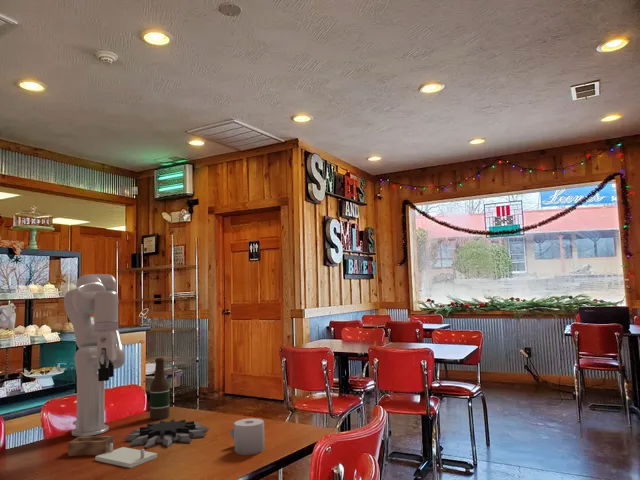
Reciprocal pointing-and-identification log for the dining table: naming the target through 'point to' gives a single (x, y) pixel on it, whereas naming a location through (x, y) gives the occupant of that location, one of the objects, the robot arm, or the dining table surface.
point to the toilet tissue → (248, 436)
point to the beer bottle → (159, 393)
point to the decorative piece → (166, 433)
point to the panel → (126, 456)
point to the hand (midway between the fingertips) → (106, 378)
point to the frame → (90, 445)
